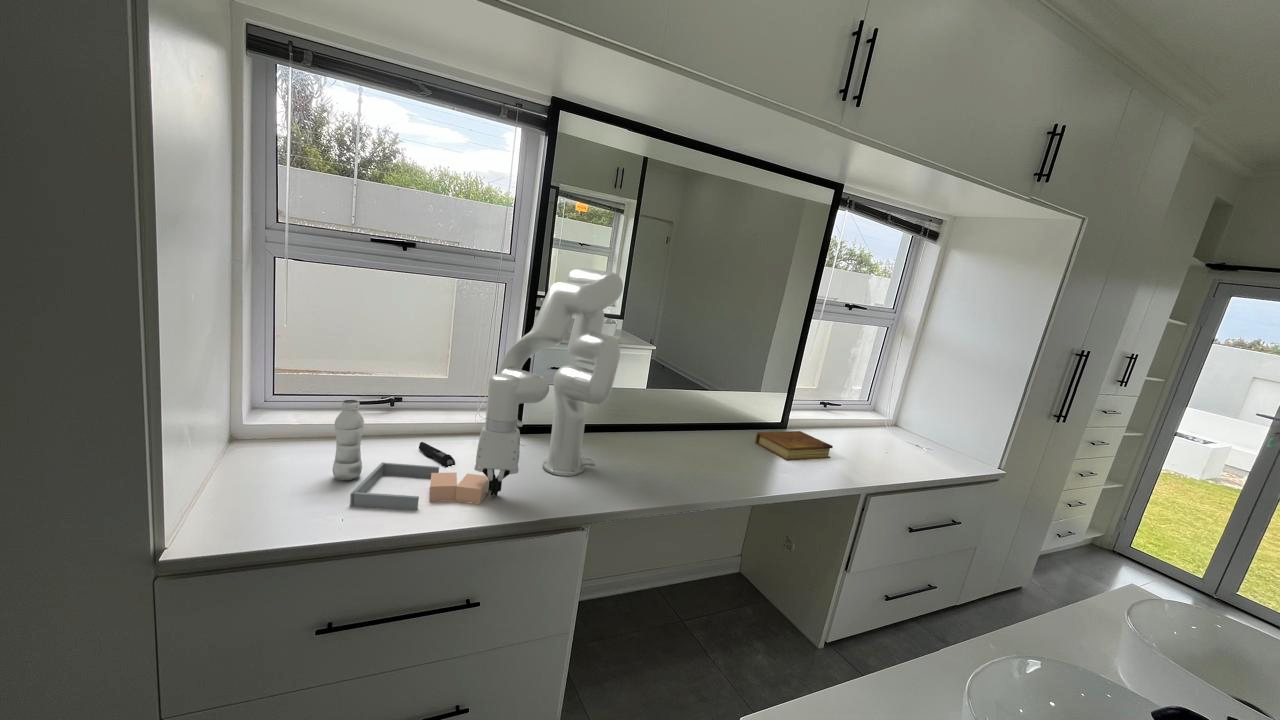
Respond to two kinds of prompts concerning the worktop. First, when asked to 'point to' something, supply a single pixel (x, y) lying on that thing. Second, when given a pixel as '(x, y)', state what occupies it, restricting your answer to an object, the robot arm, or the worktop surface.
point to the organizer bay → (387, 500)
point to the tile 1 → (443, 486)
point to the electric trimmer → (436, 454)
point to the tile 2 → (472, 488)
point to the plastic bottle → (348, 441)
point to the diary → (793, 445)
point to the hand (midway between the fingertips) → (494, 493)
